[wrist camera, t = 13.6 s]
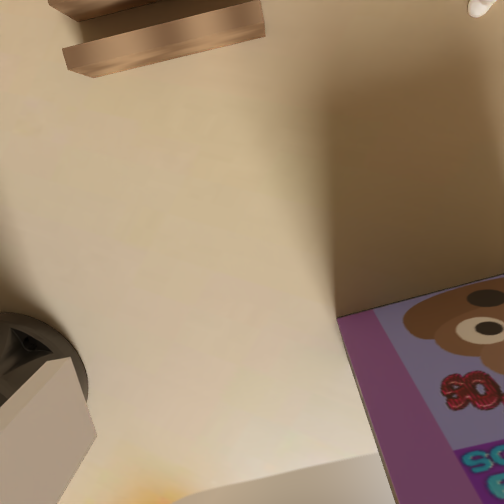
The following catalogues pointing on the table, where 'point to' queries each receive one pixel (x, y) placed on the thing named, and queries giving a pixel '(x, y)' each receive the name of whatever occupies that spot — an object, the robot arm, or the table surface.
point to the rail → (94, 7)
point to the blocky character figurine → (479, 7)
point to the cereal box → (435, 391)
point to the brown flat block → (167, 40)
